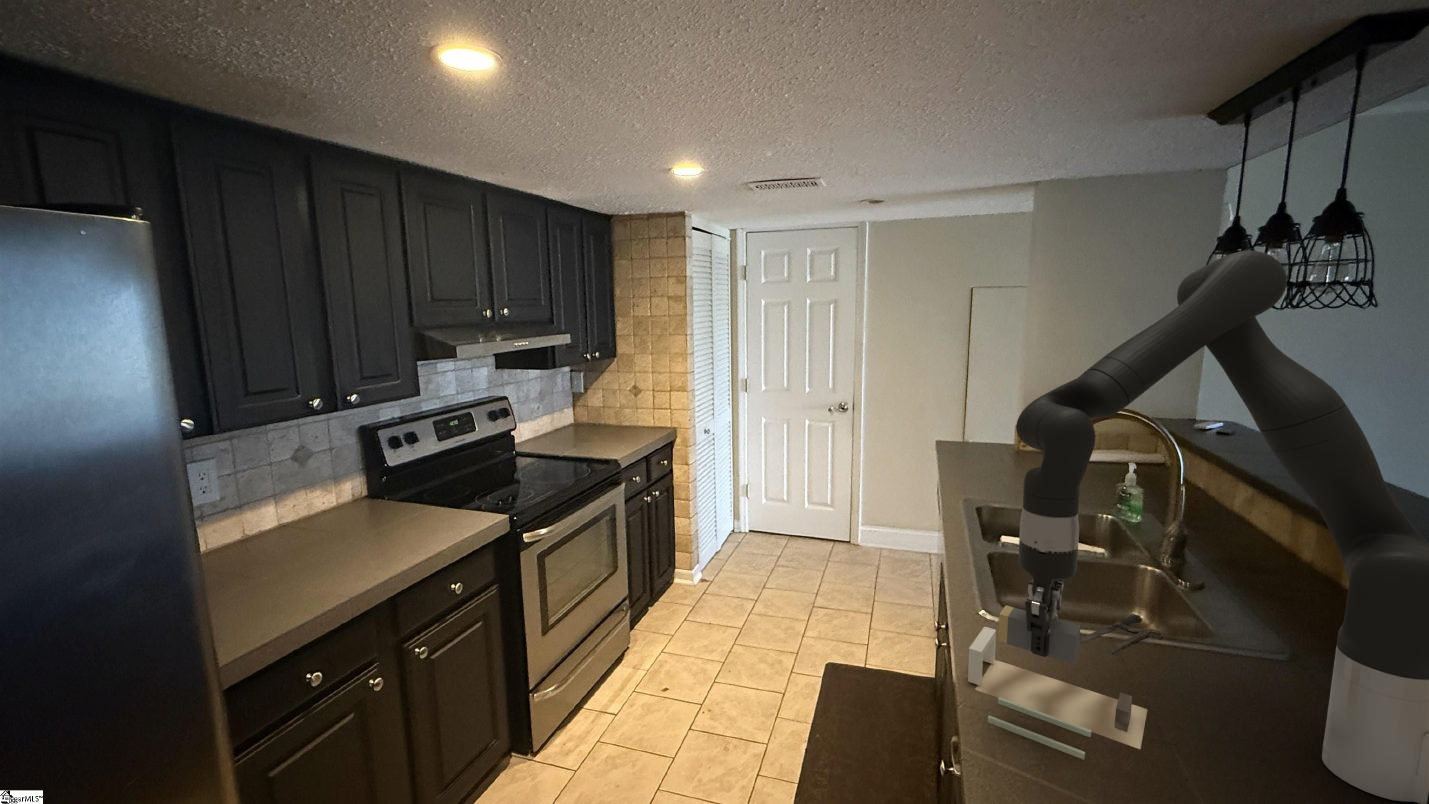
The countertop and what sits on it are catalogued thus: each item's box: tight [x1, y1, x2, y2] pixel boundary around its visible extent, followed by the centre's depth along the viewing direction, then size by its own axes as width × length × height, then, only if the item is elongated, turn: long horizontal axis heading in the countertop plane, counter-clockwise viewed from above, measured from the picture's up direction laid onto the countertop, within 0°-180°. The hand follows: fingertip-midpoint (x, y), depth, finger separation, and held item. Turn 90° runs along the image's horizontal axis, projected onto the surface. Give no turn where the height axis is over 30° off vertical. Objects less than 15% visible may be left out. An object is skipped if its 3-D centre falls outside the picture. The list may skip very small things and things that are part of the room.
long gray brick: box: [998, 605, 1082, 665], centre depth 90 cm, size 10×3×4 cm, turn 50°
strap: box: [967, 626, 997, 686], centre depth 105 cm, size 2×9×6 cm, turn 140°
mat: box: [987, 697, 1092, 760], centre depth 92 cm, size 13×6×1 cm, turn 50°
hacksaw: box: [1079, 613, 1163, 656], centre depth 114 cm, size 24×10×2 cm, turn 115°
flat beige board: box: [975, 659, 1148, 750], centre depth 98 cm, size 23×11×4 cm, turn 50°
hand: (1042, 647), depth 90 cm, fingers closed on long gray brick, 3 cm apart
